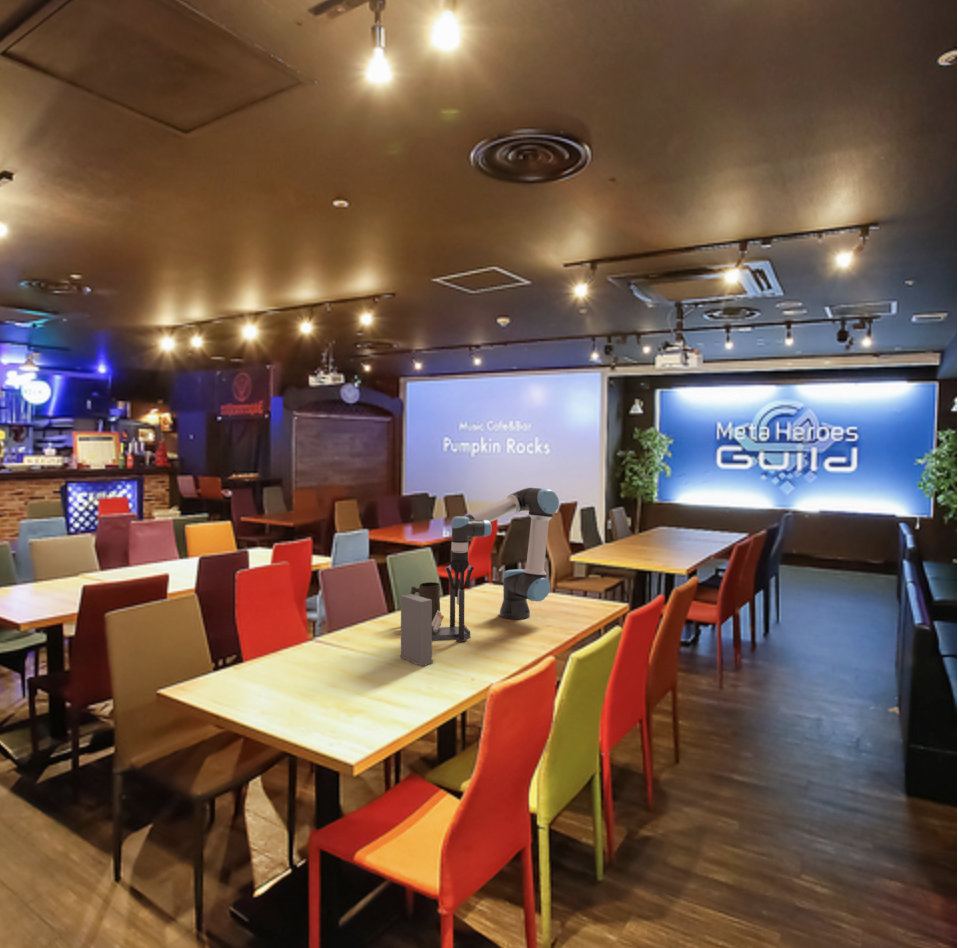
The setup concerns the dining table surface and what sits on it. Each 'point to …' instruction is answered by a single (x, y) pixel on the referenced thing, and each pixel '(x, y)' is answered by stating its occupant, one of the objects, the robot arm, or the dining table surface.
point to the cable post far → (452, 607)
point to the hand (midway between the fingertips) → (458, 604)
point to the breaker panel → (449, 633)
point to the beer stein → (429, 594)
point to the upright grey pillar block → (416, 629)
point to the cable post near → (461, 617)
